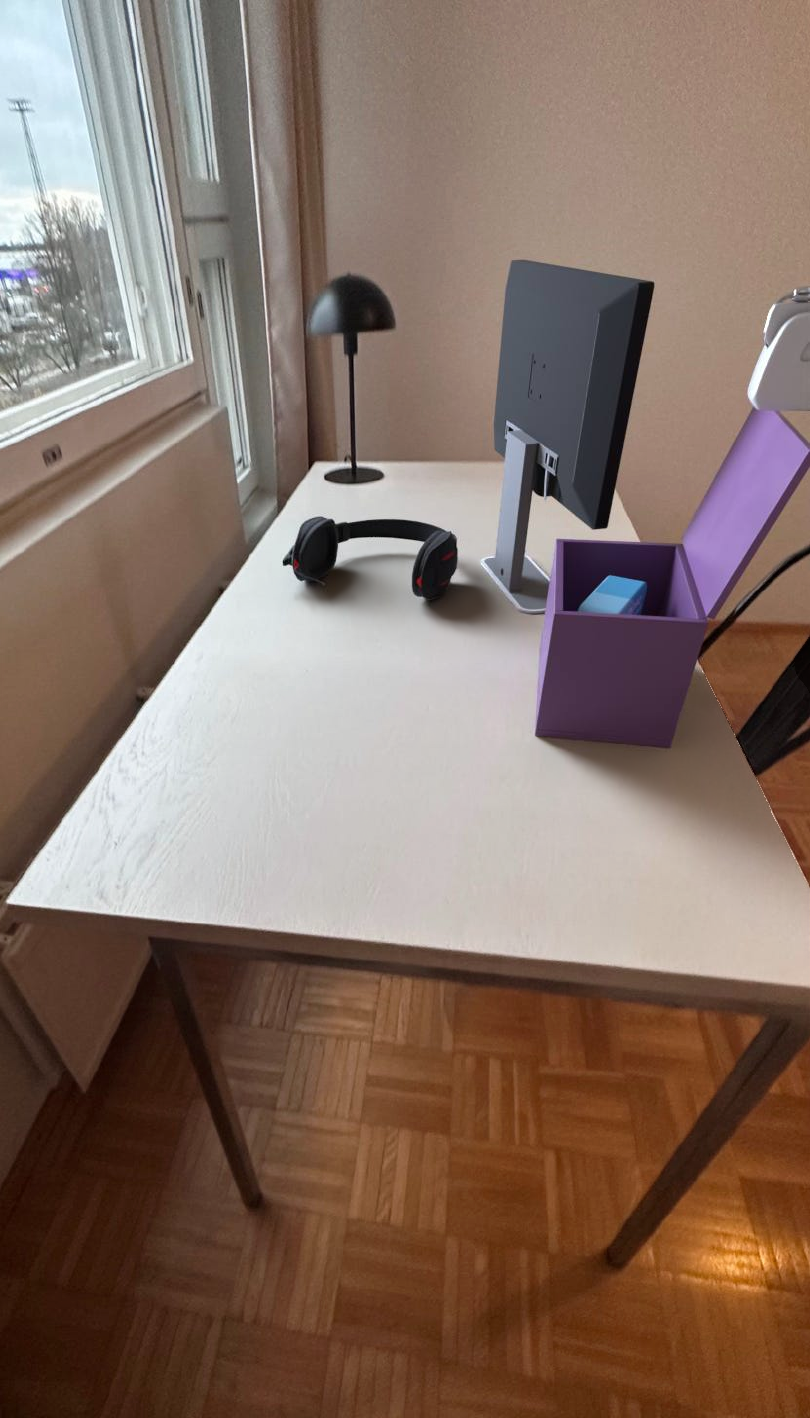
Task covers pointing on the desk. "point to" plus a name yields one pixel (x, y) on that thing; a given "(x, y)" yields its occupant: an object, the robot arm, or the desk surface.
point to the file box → (618, 645)
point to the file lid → (743, 503)
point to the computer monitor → (561, 404)
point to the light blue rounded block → (616, 597)
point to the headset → (323, 535)
